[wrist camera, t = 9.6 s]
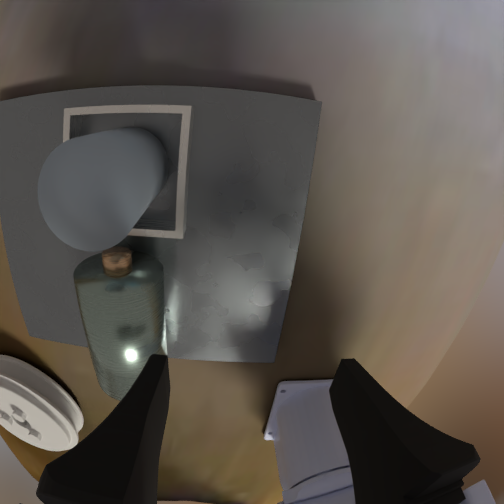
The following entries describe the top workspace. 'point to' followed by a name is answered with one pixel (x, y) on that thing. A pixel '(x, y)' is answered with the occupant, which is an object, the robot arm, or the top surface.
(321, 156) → the top surface
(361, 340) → the top surface
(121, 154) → the grey rounded capsule
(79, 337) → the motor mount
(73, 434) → the lid
